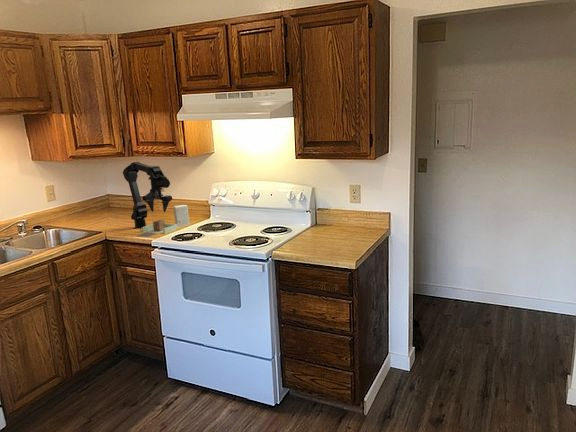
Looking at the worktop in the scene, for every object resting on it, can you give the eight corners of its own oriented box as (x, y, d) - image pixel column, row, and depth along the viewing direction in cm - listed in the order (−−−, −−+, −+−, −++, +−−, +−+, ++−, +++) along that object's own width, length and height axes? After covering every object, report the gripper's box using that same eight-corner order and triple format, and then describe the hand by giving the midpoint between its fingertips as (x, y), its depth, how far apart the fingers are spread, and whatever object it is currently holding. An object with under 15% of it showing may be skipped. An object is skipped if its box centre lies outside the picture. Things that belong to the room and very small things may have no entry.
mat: (135, 236, 283) (135, 236, 283) (145, 233, 291) (145, 232, 291) (148, 237, 279) (148, 237, 279) (158, 234, 287) (158, 233, 287)
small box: (187, 223, 312) (185, 204, 309) (189, 225, 306) (187, 205, 304) (175, 225, 309) (173, 206, 306) (177, 227, 303) (175, 207, 300)
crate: (142, 232, 294) (141, 227, 294) (155, 227, 305) (154, 223, 304) (165, 233, 286) (164, 228, 286) (178, 229, 297) (177, 224, 296)
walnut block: (153, 231, 294) (152, 221, 293) (159, 229, 298) (158, 220, 297) (160, 231, 292) (158, 222, 291) (165, 229, 296) (164, 220, 295)
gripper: (135, 188, 286) (137, 213, 289) (160, 189, 279) (162, 215, 282) (146, 185, 296) (149, 210, 299) (171, 186, 289) (174, 211, 292)
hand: (158, 211), depth 293 cm, fingers open, 9 cm apart
